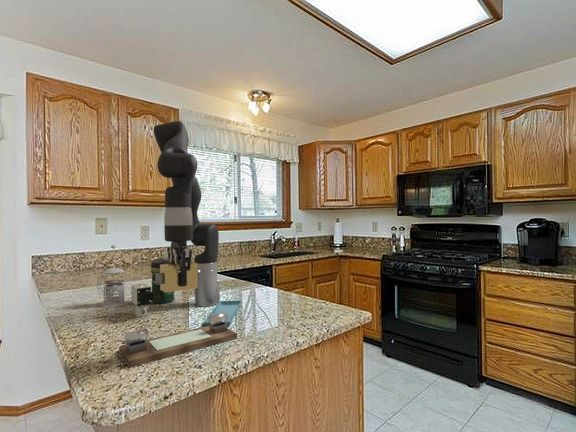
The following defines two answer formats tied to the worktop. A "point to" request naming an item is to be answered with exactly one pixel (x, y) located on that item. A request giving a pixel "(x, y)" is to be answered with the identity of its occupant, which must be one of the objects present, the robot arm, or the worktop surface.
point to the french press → (113, 288)
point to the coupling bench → (174, 341)
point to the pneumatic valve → (141, 298)
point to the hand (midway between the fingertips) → (179, 284)
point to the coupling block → (176, 277)
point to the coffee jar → (157, 293)
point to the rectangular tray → (225, 310)
